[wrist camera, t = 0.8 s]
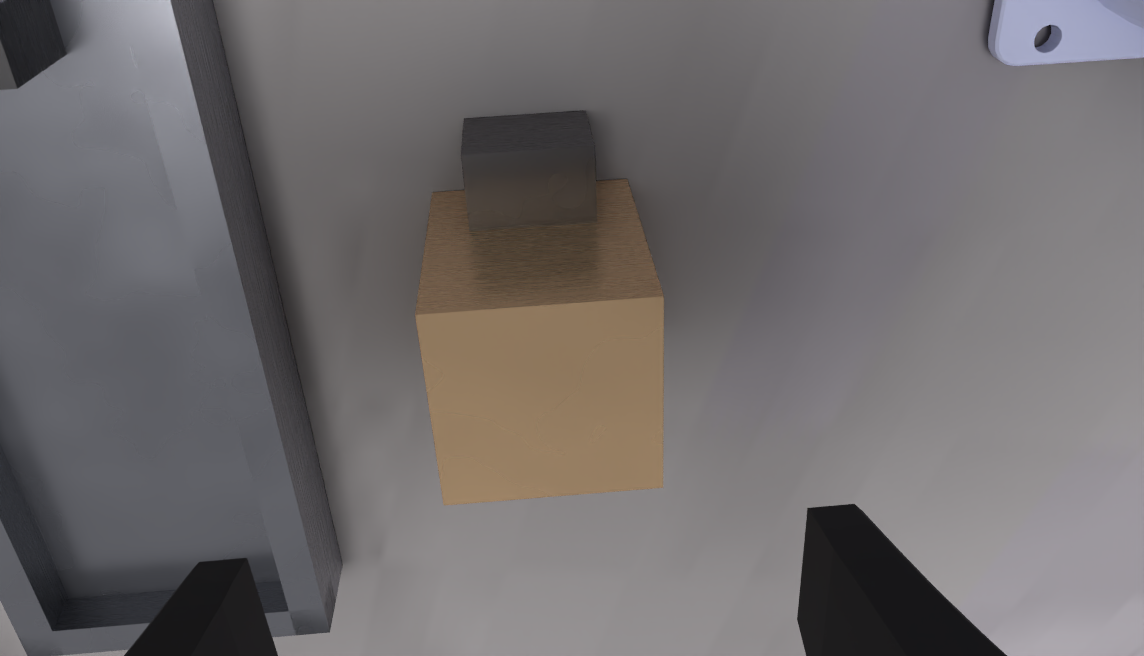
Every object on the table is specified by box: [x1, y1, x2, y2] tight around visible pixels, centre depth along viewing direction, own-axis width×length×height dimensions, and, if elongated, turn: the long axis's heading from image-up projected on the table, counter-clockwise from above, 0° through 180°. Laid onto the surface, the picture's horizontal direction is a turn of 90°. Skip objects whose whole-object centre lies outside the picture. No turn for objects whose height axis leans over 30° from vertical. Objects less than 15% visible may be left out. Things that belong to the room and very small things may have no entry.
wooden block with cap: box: [415, 111, 664, 505], centre depth 18 cm, size 4×6×5 cm
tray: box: [0, 0, 342, 656], centre depth 18 cm, size 7×20×2 cm, turn 3°
